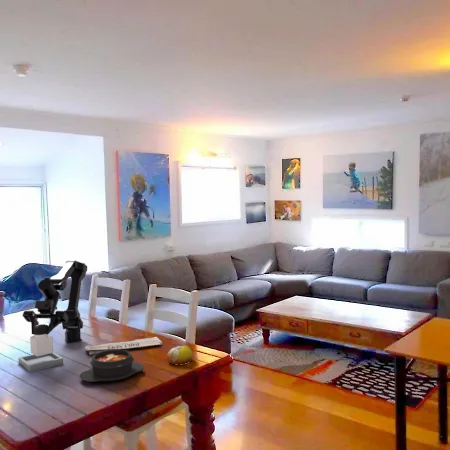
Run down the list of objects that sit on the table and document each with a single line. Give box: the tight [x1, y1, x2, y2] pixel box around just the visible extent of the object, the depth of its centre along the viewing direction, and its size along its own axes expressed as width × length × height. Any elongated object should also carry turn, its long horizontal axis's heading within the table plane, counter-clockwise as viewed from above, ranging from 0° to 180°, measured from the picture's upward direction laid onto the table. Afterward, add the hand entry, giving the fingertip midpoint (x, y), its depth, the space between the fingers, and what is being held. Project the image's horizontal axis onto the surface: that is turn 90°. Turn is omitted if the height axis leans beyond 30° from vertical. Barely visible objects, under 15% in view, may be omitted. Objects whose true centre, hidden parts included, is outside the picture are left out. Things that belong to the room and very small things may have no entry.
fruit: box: [166, 345, 194, 366], centre depth 202 cm, size 11×10×8 cm
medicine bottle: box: [29, 323, 54, 357], centre depth 201 cm, size 7×7×12 cm
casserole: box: [79, 350, 144, 383], centre depth 187 cm, size 25×19×8 cm
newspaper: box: [84, 336, 163, 356], centre depth 221 cm, size 35×12×4 cm, turn 114°
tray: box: [17, 351, 64, 373], centre depth 202 cm, size 14×14×2 cm
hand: (39, 334), depth 200 cm, fingers closed on medicine bottle, 6 cm apart
